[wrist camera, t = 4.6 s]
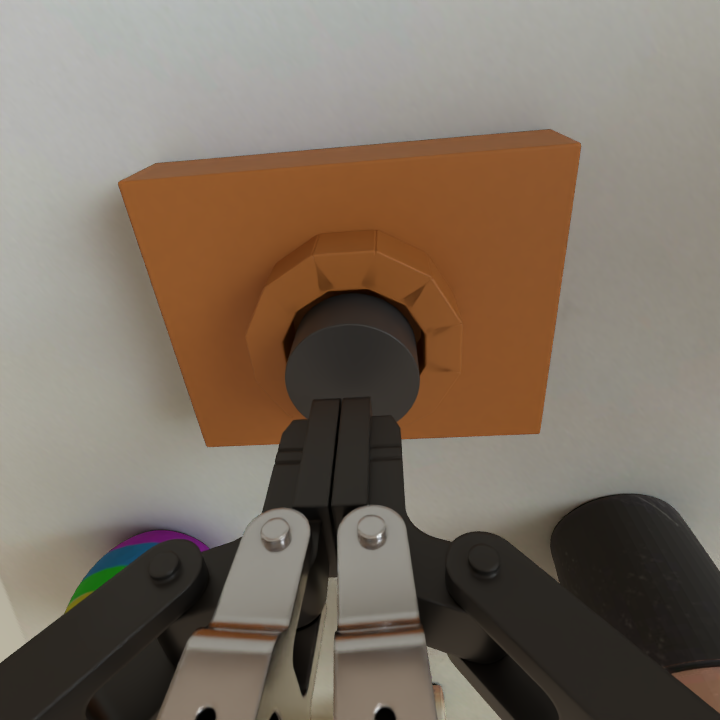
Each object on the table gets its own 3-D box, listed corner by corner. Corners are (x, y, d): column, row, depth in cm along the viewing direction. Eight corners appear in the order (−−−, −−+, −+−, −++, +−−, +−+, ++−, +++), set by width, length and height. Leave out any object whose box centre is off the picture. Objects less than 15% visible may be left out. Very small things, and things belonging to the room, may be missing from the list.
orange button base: (552, 128, 17) (610, 155, 12) (522, 391, 22) (555, 470, 18) (154, 162, 18) (82, 198, 13) (224, 405, 23) (190, 482, 19)
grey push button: (414, 288, 15) (418, 319, 13) (417, 393, 17) (421, 432, 15) (285, 296, 15) (273, 328, 14) (304, 399, 17) (295, 438, 16)
